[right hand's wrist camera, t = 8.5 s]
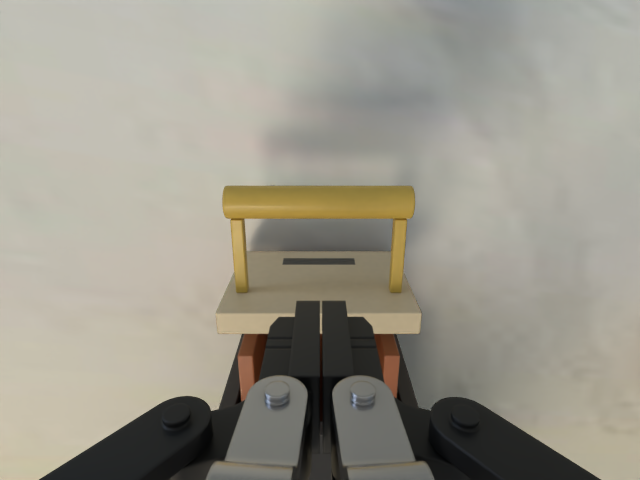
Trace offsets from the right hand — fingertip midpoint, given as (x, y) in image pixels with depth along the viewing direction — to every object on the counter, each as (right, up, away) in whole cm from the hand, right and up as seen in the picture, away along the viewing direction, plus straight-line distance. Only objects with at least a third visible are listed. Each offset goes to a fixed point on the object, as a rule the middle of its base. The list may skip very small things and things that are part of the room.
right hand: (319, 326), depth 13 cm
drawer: (0, -2, +16) cm, 16 cm away
